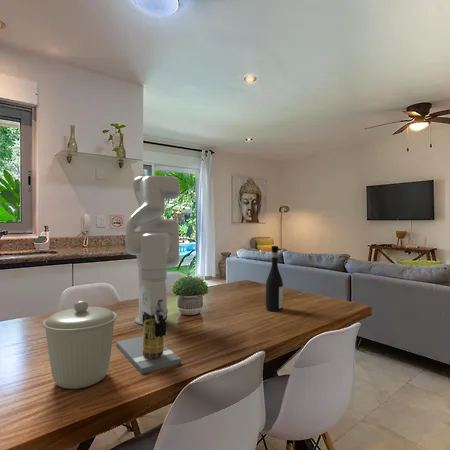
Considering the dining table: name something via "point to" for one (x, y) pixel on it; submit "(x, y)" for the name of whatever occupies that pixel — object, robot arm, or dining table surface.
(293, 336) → the dining table surface
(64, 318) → the canister
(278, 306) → the wine bottle
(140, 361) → the board
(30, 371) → the dining table surface
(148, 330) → the sauce bottle
